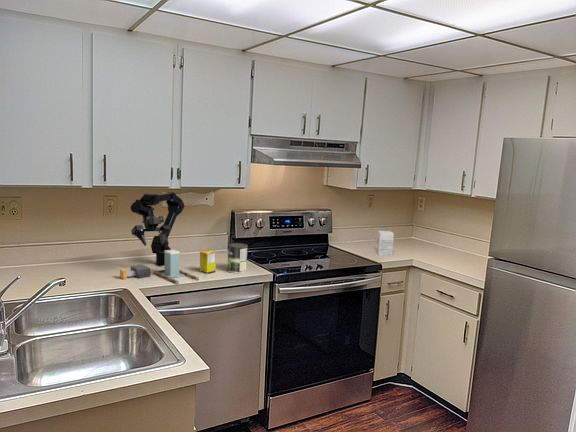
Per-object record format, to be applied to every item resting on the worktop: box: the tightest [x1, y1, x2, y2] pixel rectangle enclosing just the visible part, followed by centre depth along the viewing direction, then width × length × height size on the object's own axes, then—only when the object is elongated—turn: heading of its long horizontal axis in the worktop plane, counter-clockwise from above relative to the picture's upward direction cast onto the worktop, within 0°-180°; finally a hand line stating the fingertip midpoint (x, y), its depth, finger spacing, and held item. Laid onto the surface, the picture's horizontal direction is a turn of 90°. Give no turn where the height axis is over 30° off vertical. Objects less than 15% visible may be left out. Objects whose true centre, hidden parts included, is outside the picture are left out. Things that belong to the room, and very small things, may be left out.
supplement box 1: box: [199, 249, 217, 275], centre depth 243 cm, size 6×6×11 cm
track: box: [153, 269, 199, 285], centre depth 232 cm, size 22×12×1 cm, turn 43°
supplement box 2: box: [376, 230, 395, 257], centre depth 301 cm, size 9×9×15 cm
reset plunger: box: [119, 268, 136, 280], centre depth 227 cm, size 4×7×4 cm, turn 133°
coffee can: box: [227, 242, 248, 274], centre depth 247 cm, size 10×10×14 cm
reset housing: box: [130, 264, 151, 279], centre depth 231 cm, size 9×6×4 cm, turn 43°
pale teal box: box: [164, 249, 181, 276], centre depth 234 cm, size 6×5×12 cm
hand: (154, 245), depth 232 cm, fingers open, 9 cm apart
